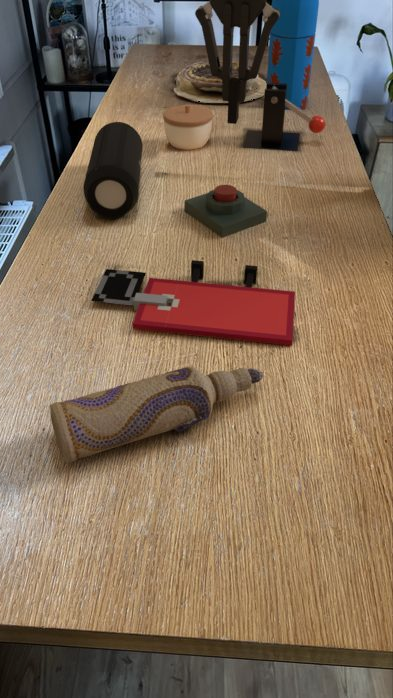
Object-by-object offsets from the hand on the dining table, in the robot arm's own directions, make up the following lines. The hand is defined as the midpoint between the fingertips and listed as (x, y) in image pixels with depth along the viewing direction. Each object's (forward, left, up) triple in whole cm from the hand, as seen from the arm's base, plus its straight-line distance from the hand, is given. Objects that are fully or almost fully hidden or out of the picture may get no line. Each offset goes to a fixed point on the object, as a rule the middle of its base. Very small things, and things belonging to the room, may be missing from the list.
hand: (232, 120), depth 99 cm
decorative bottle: (-38, +39, -17) cm, 57 cm away
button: (-1, +2, -13) cm, 13 cm away
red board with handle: (-20, +22, -17) cm, 34 cm away
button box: (-1, +2, -17) cm, 17 cm away
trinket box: (+29, -10, -17) cm, 35 cm away
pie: (+58, -40, -17) cm, 72 cm away
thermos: (+37, -46, -17) cm, 61 cm away
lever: (+16, -29, -10) cm, 34 cm away
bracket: (+19, -26, -17) cm, 36 cm away
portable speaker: (+19, +14, -17) cm, 29 cm away
